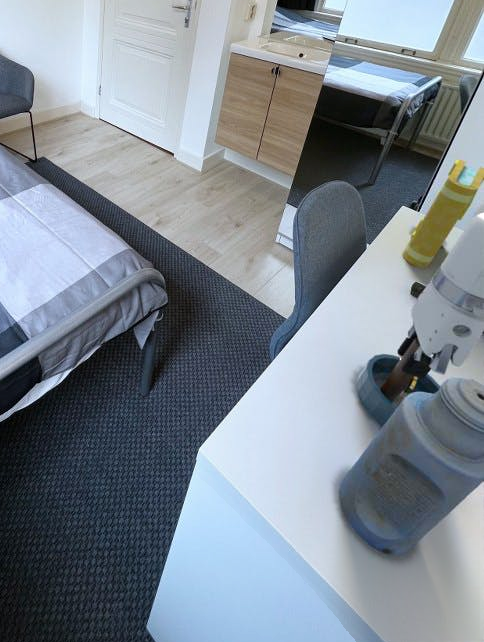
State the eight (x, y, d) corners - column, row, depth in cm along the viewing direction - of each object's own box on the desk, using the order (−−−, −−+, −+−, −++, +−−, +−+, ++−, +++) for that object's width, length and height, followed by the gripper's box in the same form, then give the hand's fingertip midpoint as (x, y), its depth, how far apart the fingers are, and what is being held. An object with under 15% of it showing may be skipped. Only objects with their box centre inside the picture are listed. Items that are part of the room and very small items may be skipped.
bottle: (323, 504, 62) (416, 383, 48) (354, 461, 68) (446, 342, 53) (392, 578, 56) (524, 465, 41) (421, 525, 61) (546, 408, 47)
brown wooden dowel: (392, 393, 77) (431, 340, 69) (395, 407, 74) (435, 354, 67) (376, 387, 77) (413, 334, 70) (378, 400, 75) (417, 347, 68)
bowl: (425, 391, 79) (440, 372, 76) (443, 460, 69) (462, 441, 66) (351, 362, 83) (363, 343, 80) (358, 423, 73) (372, 404, 70)
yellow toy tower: (414, 231, 123) (457, 158, 111) (441, 244, 118) (489, 170, 106) (398, 257, 112) (443, 179, 100) (427, 272, 108) (479, 193, 96)
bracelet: (403, 409, 76) (424, 383, 72) (383, 399, 77) (402, 372, 73) (402, 378, 81) (421, 352, 77) (383, 369, 82) (401, 343, 79)
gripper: (519, 343, 55) (449, 421, 64) (476, 262, 68) (423, 336, 77) (451, 320, 57) (393, 398, 66) (422, 246, 70) (377, 320, 79)
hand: (409, 364), depth 71 cm, fingers closed on brown wooden dowel, 2 cm apart
